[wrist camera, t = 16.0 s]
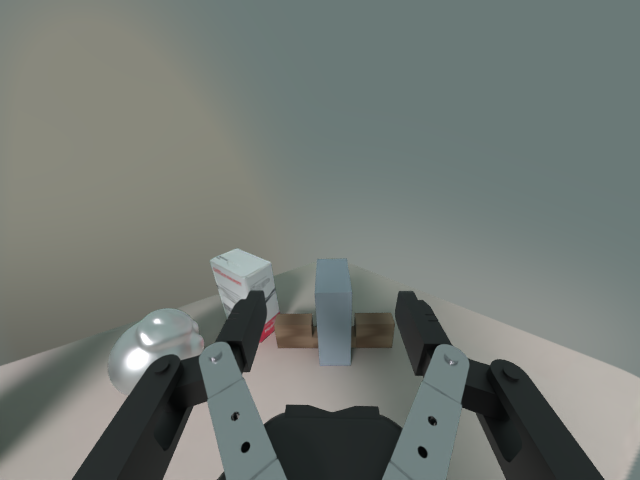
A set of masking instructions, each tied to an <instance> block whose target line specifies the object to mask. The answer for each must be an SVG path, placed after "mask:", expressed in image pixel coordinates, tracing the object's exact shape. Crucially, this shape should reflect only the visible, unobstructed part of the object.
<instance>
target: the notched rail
mask: <svg viewBox="0 0 640 480" xmlns="http://www.w3.org/2000/svg"><path fill="white" fill-rule="evenodd" d="M394 327H395V323H394V320H393V317H392V314H391V313H355V323H354V326H351V348H392V341H393V334H394ZM274 328H275V334H276V339H277V344H278V348H319V347H318V332H317V327H313V320H312V314H277V316H276V319H275V323H274Z"/></svg>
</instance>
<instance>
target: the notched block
mask: <svg viewBox="0 0 640 480" xmlns="http://www.w3.org/2000/svg"><path fill="white" fill-rule="evenodd" d="M315 303H316V317H317V332H318V347H319V361H320V366H346V365H351V321H352V288H351V282H350V276H349V270H348V263H347V259H318V260H317V268H316V283H315Z"/></svg>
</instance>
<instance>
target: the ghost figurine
mask: <svg viewBox="0 0 640 480" xmlns="http://www.w3.org/2000/svg"><path fill="white" fill-rule="evenodd" d="M198 332H199V326H198V324H197V322H196V321H194V320H192V319H191V317H190V316H189V315H188V314H186V313H185V312H183V311H181V310H178V309H171V308H164V309H159V310H156V311H153V312H151V313H150V314H148V315H147V316H146V317H145V318H143V319H142V320H141V321H140V322H138V323H136V324H135V325H133V326H132V327H130V328H129V329H128V330H127V331H125V332H124V333H123V334H122V335H121V337H120V338H119V339H118V340H117V342H116V343H115V345H114V346H113V348H112V350H111V353H110V356H109V359H108V375H109V378H110V381H111V383H112V384H113V386H114V387H115V388H116V389H117V390H118V391H120V392H121V393H123V394H125V395H127V396H129V394H130V393H131V391H132V390H133V388H134V387H135V385H136V384H137V383H138V381H139V380H140V378H141V377H142V375H143V374H144V372H145V371H146V369H147V368H148V367H149V365H150V364H151V363H153V362H154V361H155V360H157V359H158V358H160V357H162V356H165V355H169V354H174V355H177V356H178V357H179V358H180V360H184V359H187V358H191V357H195V356H198V355H200V354H201V353H202V351H203V350H204V339H203V337H202V336H201V335H200V334H198Z"/></svg>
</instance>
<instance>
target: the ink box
mask: <svg viewBox="0 0 640 480" xmlns="http://www.w3.org/2000/svg"><path fill="white" fill-rule="evenodd" d="M210 264H211V267H212V271H213V274H214V277H215V281H216V284H217V287H218V291H219V294H220V298H221V301H222V304H223V308H224V311H225V315H226V318H227V319H228V316H229V314H230V313H231V311H232V309H233V307H234V305H235V304H236V303H237V302H238V301H239V300H240V299H246V298H247V296H248V293H249V291H250V290H263V291H264V295H265V301H266V306H267V319H266V322H265V325H264V329H263V332H262V335H261V338H260V341H259V343H261V342H262V341H263V340H264V339H265V338H266V337H268V336H269V335H270V334H271V333H272V332H273V331H274V330H275V328H274V323H275V319H276V316H277V314H280V311H279V305H278V300H277V294H276V289H275V283H274V277H273V271H272V265H271V262H269V261H267V260H264V259H262V258H259V257H257V256H255V255H252V254H250V253H247V252H245V251H242V250H240V249H237V248H236V249H234V250H231V251H229V252H226V253H225V254H222V255H219V256H217V257H215V258H212V259H211V260H210Z"/></svg>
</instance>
